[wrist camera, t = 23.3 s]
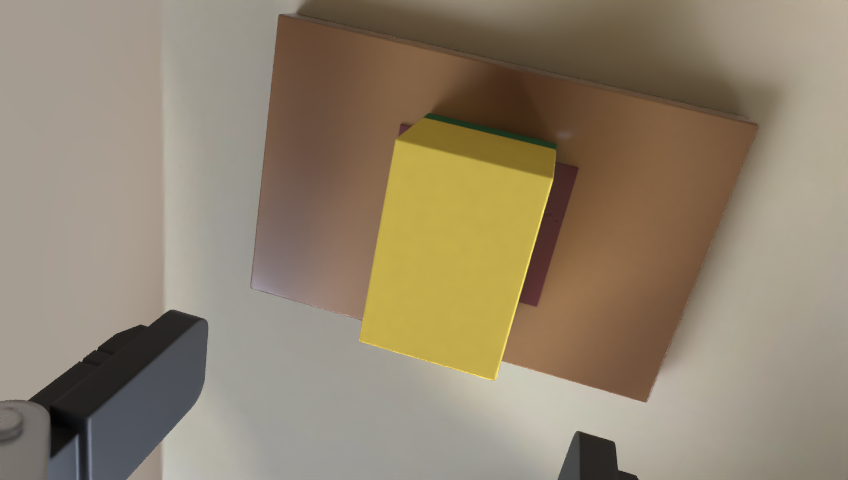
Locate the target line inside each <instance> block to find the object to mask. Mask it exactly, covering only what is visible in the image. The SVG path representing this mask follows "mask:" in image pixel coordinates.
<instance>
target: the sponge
mask: <svg viewBox="0 0 848 480" xmlns="http://www.w3.org/2000/svg"><path fill="white" fill-rule="evenodd" d="M556 150H557V144H556V143H551V142H547V141H543V140H539V139H535V138H531V137H527V136H523V135H518V134H514V133H510V132H506V131H502V130H498V129H494V128H489V127H485V126H481V125H477V124H473V123H469V122H465V121H460V120H456V119H452V118H448V117H444V116H440V115H436V114H432V113H428V114H427V115H425V116H424V117H423V118H422V119H421V120H420V121H418V122H417V123H416V124H414V125H413V126H412V127H410V128H409V129H408V130H407V131H405V132H404V133H403V134H401V135H400V136H399V137H398V138H396V140H395V145H394V151H393V156H392V162H391V167H390V173H389V178H388V184H387V189H386V195H385V200H384V206H383V211H382V216H381V222H380V227H379V233H378V238H377V244H376V249H375V255H374V260H373V266H372V271H371V277H370V282H369V288H368V293H367V299H366V304H365V310H364V315H363V321H362V326H361V332H360V337H359V341H360V342H363V343H366V344H370V345H373V346H377V347H380V348H383V349H387V350H390V351H394V352H397V353H400V354H404V355H407V356H411V357H414V358H418V359H421V360H424V361H428V362H431V363H435V364H438V365H441V366H445V367H448V368H452V369H455V370H458V371H462V372H465V373H469V374H472V375H476V376H479V377H482V378H486V379H489V380H493V381H495V380H496V378H497V374H498V371H499V367H500V364H501V360H502V357H503V353H504V350H505V346H506V343H507V339H508V336H509V332H510V329H511V325H512V322H513V318H514V315H515V311H516V308H517V304H518V301H519V297H520V294H521V290H522V287H523V283H524V280H525V276H526V273H527V269H528V266H529V263H530V259H531V256H532V252H533V249H534V245H535V242H536V238H537V235H538V231H539V228H540V224H541V221H542V217H543V214H544V210H545V207H546V203H547V200H548V196H549V193H550V189H551V186H552V182H553V178H554V168H555V158H556Z"/></svg>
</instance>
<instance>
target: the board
mask: <svg viewBox="0 0 848 480" xmlns="http://www.w3.org/2000/svg"><path fill="white" fill-rule="evenodd" d="M428 113H432V114H436V115H440V116H444V117H448V118H452V119H456V120H460V121H465V122H469V123H473V124H477V125H481V126H485V127H489V128H494V129H498V130H502V131H506V132H510V133H514V134H518V135H523V136H527V137H531V138H535V139H539V140H543V141H547V142H551V143H556V144H557V150H556V158H555V168H554V178H553V182H552V186H551V189H550V193H549V196H548V200H547V203H546V207H545V210H544V214H543V217H542V221H541V224H540V228H539V231H538V235H537V238H536V242H535V245H534V249H533V252H532V256H531V259H530V263H529V266H528V269H527V273H526V276H525V280H524V283H523V287H522V290H521V294H520V297H519V301H518V304H517V308H516V311H515V315H514V318H513V322H512V325H511V329H510V332H509V336H508V339H507V343H506V346H505V350H504V353H503V357H502V360H501V361H504V362H507V363H511V364H514V365H518V366H521V367H524V368H528V369H531V370H535V371H538V372H542V373H545V374H549V375H552V376H556V377H559V378H562V379H566V380H569V381H573V382H576V383H580V384H583V385H587V386H590V387H593V388H597V389H600V390H604V391H607V392H611V393H614V394H618V395H621V396H625V397H628V398H631V399H635V400H638V401H642V402H647V401H648V399H649V397H650V394H651V392H652V389H653V387H654V384H655V382H656V379H657V377H658V374H659V372H660V369H661V367H662V364H663V362H664V359H665V357H666V354H667V352H668V350H669V347H670V345H671V342H672V340H673V337H674V335H675V332H676V330H677V327H678V325H679V322H680V320H681V317H682V315H683V312H684V310H685V308H686V305H687V303H688V300H689V298H690V295H691V293H692V290H693V288H694V285H695V283H696V280H697V278H698V275H699V273H700V270H701V268H702V265H703V263H704V261H705V258H706V256H707V253H708V251H709V248H710V246H711V243H712V241H713V238H714V236H715V233H716V231H717V228H718V226H719V223H720V221H721V219H722V216H723V214H724V211H725V209H726V206H727V204H728V201H729V199H730V196H731V194H732V191H733V189H734V186H735V184H736V181H737V179H738V176H739V174H740V172H741V169H742V167H743V164H744V162H745V159H746V157H747V154H748V152H749V149H750V147H751V144H752V142H753V139H754V137H755V134H756V132H757V130H758V127H759V125H758V124H757V123H755V122H754V121H752V120H751V119H749V118H748V117H744V116H739V115H735V114H730V113H726V112H722V111H717V110H713V109H709V108H704V107H700V106H696V105H691V104H687V103H682V102H678V101H674V100H669V99H665V98H661V97H656V96H652V95H648V94H643V93H639V92H635V91H630V90H626V89H621V88H617V87H613V86H608V85H604V84H600V83H595V82H591V81H587V80H582V79H578V78H573V77H569V76H565V75H560V74H556V73H552V72H547V71H543V70H539V69H534V68H530V67H526V66H521V65H517V64H512V63H508V62H504V61H499V60H495V59H491V58H486V57H482V56H478V55H473V54H469V53H464V52H460V51H456V50H451V49H447V48H443V47H438V46H434V45H430V44H425V43H421V42H417V41H412V40H408V39H403V38H399V37H395V36H390V35H386V34H382V33H377V32H373V31H369V30H364V29H360V28H355V27H351V26H347V25H342V24H338V23H334V22H329V21H325V20H321V19H316V18H312V17H308V16H303V15H299V14H279V17H278V26H277V36H276V46H275V55H274V65H273V74H272V84H271V94H270V103H269V113H268V123H267V132H266V142H265V152H264V161H263V171H262V180H261V190H260V200H259V209H258V219H257V229H256V238H255V248H254V258H253V267H252V277H251V286H250V287H251V288H252V289H255V290H259V291H262V292H266V293H269V294H273V295H276V296H280V297H283V298H286V299H290V300H293V301H297V302H300V303H304V304H307V305H311V306H314V307H317V308H321V309H324V310H328V311H331V312H335V313H338V314H342V315H345V316H349V317H352V318H355V319H359V320H362V321H363V315H364V310H365V304H366V299H367V293H368V288H369V282H370V277H371V271H372V266H373V260H374V255H375V249H376V244H377V238H378V233H379V227H380V222H381V216H382V211H383V206H384V200H385V195H386V189H387V184H388V178H389V173H390V167H391V162H392V156H393V151H394V145H395V140H396V138H398V137H399V136H400V135H401V134H403V133H404V132H405V131H407V130H408V129H409V128H410V127H412V126H413V125H414V124H416V123H417V122H418V121H420V120H421V119H422V118H423V117H424V116H425V115H427V114H428Z"/></svg>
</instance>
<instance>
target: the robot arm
mask: <svg viewBox="0 0 848 480" xmlns="http://www.w3.org/2000/svg"><path fill="white" fill-rule="evenodd" d="M207 339H208V323H207V321H206V320H205V319H203V318H200V317H196V316H193V315H190V314H186V313H183V312H180V311H176V310H169V311H168V312H166V313H165V314H164V315H162V316H161V317H160V318H159V319H157V320H156V321H155V322H153V323H152V324H151V325H150V326H148V327H147V326H144V325H139V326H136V327H133V328H130V329H128V330H125V331H122V332H120V333H117V334H115V335H114V336H113V337H111V338H110V339H109V340H107V341H106V342H105V343H103V344H102V345H101V346H99V347H98V350H97V351H96V350H94V351H93V352H92V353H90V354H89V355H87V356H86V357H85V358H84V359H83V361H82V362H80V361H79V362H78V363H77V364H75V365H74V366H73V367H72V368H70V369H69V370H68V371H67V372H65V373H64V374H62V375H61V376H60V377H58V378H57V379H56V380H54V381H53V382H52V383H50V384H49V385H48V386H46V387H45V388H44V389H42V390H41V391H40V392H38V393H37V394H36V395H34V396H33V397H32V398H31V399H29V400H28V401H25V400H6V401H0V480H126V479H127V478H128V477H129V476H130V475H131V474H132V472H134V470H135V469H136V468H137V467H138V466H139V465H140V464H141V463H142V462H143V460H144V459H145V458H146V457H147V456H148V455H149V454H150V453H151V452H152V451H153V450H154V448H155V447H156V446H157V445H158V444H159V443H160V442H161V441H162V440H163V439H164V438H165V436H166V435H167V434H168V433H169V432H170V431H171V430H172V429H173V428H174V427H175V425H176V424H177V423H178V422H179V421H180V420H181V419H182V418H183V417H184V416H185V414H186V413H187V412H188V411H189V410H190V409H191V408H192V407H193V405H194V404H195V403H196V401H197V399H198V397H199V395H200V393H201V391H202V388H203V384H204V380H205V368H206V354H207ZM558 480H638V478H637V476H636V475H633V474H629V473H626V472H623V471H619V470H618V466H617V456H616V446H615V443H614V442H613V441H610V440H607V439H603V438H600V437H597V436H593V435H590V434H586V433H583V432H580V431H577V432H576V433H575V434H574V437H573V439H572V442H571V444H570V447H569V450H568V453H567V455H566V458H565V461H564V464H563V466H562V469H561V472H560V474H559V477H558Z"/></svg>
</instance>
